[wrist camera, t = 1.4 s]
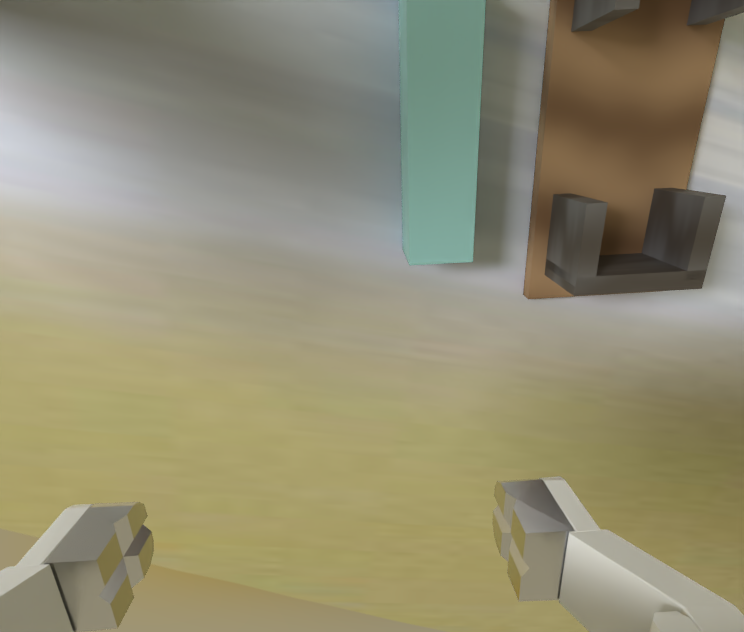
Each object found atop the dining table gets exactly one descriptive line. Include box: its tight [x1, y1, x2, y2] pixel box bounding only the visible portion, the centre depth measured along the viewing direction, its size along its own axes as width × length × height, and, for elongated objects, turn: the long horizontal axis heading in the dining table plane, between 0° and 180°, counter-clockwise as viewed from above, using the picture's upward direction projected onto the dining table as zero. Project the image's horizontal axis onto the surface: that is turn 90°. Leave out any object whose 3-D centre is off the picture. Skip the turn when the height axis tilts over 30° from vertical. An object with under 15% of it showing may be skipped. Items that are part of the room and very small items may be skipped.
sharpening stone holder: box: [523, 0, 744, 299], centre depth 25 cm, size 24×10×6 cm, turn 3°
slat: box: [399, 0, 486, 265], centre depth 26 cm, size 16×4×4 cm, turn 3°
